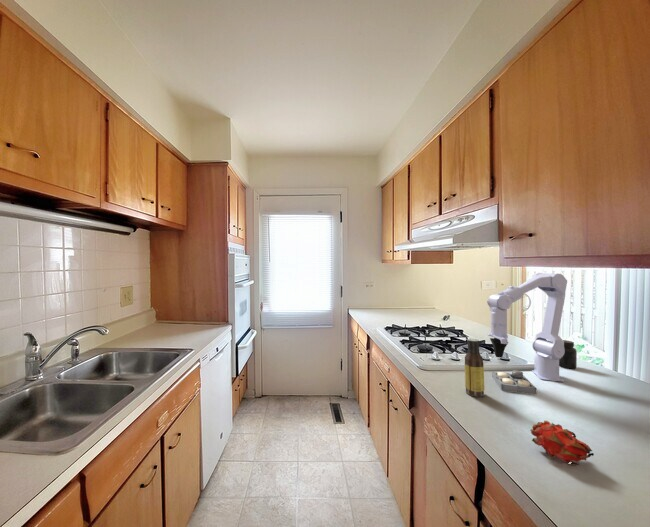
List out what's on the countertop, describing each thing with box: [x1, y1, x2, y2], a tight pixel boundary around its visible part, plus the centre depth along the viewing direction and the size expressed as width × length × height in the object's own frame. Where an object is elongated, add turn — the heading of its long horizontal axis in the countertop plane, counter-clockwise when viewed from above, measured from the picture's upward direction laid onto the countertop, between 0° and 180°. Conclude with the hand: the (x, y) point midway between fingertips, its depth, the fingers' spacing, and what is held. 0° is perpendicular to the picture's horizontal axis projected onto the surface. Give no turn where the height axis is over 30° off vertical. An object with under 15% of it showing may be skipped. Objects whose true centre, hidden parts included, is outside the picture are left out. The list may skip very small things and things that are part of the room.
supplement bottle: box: [559, 339, 578, 370], centre depth 128 cm, size 7×7×12 cm
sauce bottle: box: [464, 338, 485, 398], centre depth 102 cm, size 6×6×20 cm
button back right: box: [497, 371, 508, 378], centre depth 112 cm, size 4×4×2 cm
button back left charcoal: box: [511, 369, 524, 379], centre depth 111 cm, size 4×4×2 cm
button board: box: [491, 371, 538, 395], centre depth 109 cm, size 13×11×2 cm
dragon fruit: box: [530, 420, 595, 466], centre depth 68 cm, size 8×8×12 cm
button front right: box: [502, 378, 513, 385], centre depth 106 cm, size 4×4×2 cm
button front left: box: [518, 380, 529, 386], centre depth 105 cm, size 4×4×2 cm
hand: (498, 356), depth 113 cm, fingers closed
